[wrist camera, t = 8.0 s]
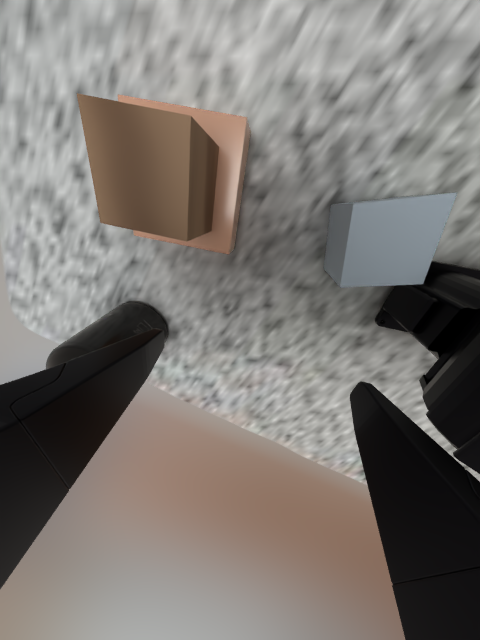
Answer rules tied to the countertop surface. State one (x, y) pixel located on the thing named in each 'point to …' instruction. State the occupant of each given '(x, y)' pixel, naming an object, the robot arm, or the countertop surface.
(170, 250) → the countertop surface
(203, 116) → the base block
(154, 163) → the walnut cube
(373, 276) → the slate-blue cube
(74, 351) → the supplement bottle
